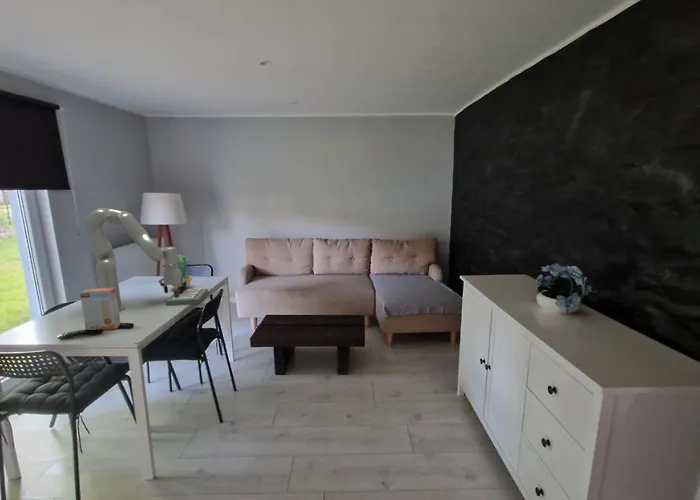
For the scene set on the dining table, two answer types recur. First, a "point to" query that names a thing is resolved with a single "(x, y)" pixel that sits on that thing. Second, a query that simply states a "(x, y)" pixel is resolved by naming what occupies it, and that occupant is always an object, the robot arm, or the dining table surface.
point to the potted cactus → (182, 270)
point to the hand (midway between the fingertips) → (174, 292)
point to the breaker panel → (187, 296)
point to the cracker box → (100, 308)
